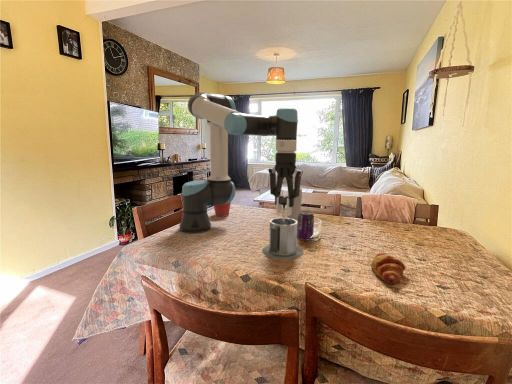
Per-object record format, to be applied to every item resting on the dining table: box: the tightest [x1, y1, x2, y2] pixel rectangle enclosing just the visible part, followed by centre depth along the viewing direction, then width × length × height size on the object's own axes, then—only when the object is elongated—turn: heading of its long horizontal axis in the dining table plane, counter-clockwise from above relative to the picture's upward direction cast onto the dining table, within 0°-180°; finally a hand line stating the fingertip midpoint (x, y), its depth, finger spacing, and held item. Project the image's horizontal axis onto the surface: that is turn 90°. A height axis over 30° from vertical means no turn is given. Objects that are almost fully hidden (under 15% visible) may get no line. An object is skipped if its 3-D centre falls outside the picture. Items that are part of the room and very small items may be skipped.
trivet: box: [261, 245, 304, 261], centre depth 109 cm, size 16×16×1 cm
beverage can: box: [297, 210, 315, 241], centre depth 126 cm, size 7×7×12 cm
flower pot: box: [213, 201, 232, 217], centre depth 164 cm, size 11×11×10 cm
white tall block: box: [286, 187, 303, 226], centre depth 147 cm, size 7×14×20 cm, turn 54°
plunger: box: [279, 195, 289, 225], centre depth 107 cm, size 8×8×19 cm
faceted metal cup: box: [269, 217, 298, 257], centre depth 107 cm, size 11×13×12 cm
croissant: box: [370, 252, 406, 284], centre depth 94 cm, size 21×10×8 cm, turn 164°
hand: (283, 214), depth 107 cm, fingers closed on plunger, 4 cm apart
